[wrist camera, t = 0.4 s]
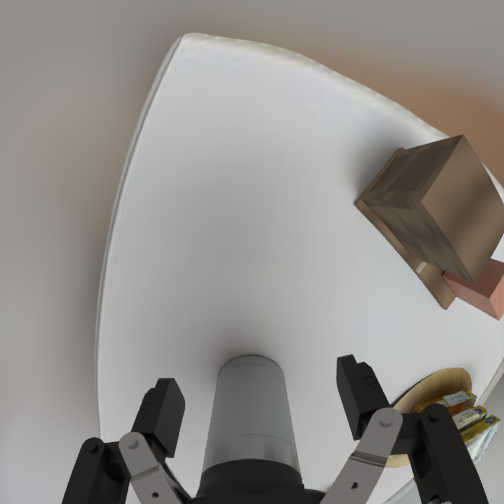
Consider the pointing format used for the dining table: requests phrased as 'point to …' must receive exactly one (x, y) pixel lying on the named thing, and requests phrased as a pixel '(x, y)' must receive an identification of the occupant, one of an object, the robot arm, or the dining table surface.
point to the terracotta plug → (482, 289)
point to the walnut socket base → (437, 212)
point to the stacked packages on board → (451, 410)
